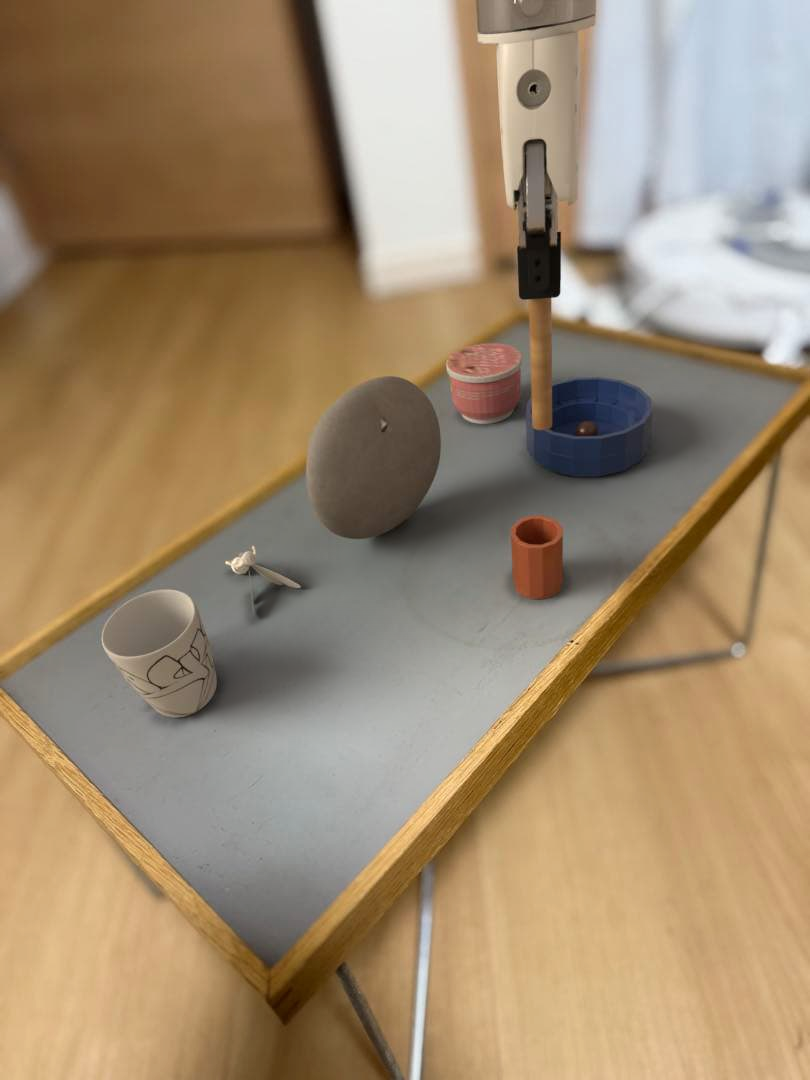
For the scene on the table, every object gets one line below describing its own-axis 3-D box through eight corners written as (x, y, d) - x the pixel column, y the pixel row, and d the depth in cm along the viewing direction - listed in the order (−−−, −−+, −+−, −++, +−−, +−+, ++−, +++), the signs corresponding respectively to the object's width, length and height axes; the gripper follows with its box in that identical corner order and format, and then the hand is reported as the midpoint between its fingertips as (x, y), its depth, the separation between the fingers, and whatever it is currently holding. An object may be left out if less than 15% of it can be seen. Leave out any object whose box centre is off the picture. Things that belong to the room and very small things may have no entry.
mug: (126, 668, 72) (85, 599, 66) (203, 629, 75) (170, 560, 69) (156, 744, 64) (112, 674, 58) (241, 698, 67) (208, 626, 61)
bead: (598, 436, 92) (599, 416, 90) (598, 448, 90) (599, 428, 88) (575, 436, 93) (575, 416, 91) (574, 449, 90) (575, 429, 89)
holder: (562, 567, 75) (563, 515, 70) (561, 600, 71) (562, 548, 67) (515, 566, 76) (512, 515, 72) (512, 598, 72) (509, 547, 68)
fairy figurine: (254, 546, 83) (267, 533, 77) (285, 595, 83) (301, 587, 77) (209, 572, 80) (219, 561, 74) (242, 623, 81) (254, 617, 74)
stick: (552, 420, 65) (551, 213, 53) (552, 430, 63) (550, 220, 52) (532, 420, 65) (526, 215, 54) (531, 430, 64) (525, 222, 52)
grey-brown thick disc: (425, 480, 91) (406, 343, 79) (464, 500, 86) (450, 359, 74) (311, 553, 82) (269, 413, 71) (347, 579, 78) (310, 434, 66)
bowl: (644, 415, 95) (647, 375, 92) (652, 480, 84) (656, 437, 80) (530, 417, 99) (529, 379, 95) (524, 480, 88) (522, 439, 84)
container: (477, 387, 108) (473, 338, 103) (537, 401, 102) (536, 349, 97) (437, 419, 102) (431, 369, 97) (498, 435, 96) (495, 383, 91)
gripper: (600, 6, 38) (590, 329, 50) (593, -12, 50) (586, 253, 61) (462, 27, 40) (484, 336, 51) (487, 5, 51) (500, 260, 63)
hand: (540, 289), depth 56 cm, fingers closed on stick, 1 cm apart
